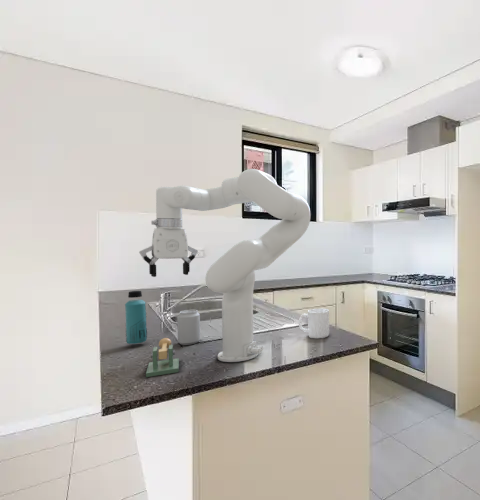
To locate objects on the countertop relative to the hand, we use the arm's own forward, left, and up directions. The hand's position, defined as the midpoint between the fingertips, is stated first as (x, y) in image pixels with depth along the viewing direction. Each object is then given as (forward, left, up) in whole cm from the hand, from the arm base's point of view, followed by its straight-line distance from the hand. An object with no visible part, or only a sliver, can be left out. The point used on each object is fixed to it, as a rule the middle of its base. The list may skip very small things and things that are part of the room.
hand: (170, 275), depth 119 cm
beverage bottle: (+20, -4, -27) cm, 34 cm away
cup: (-37, -33, -27) cm, 56 cm away
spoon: (-5, +8, -24) cm, 26 cm away
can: (+4, -12, -27) cm, 30 cm away
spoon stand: (-10, +12, -27) cm, 31 cm away
